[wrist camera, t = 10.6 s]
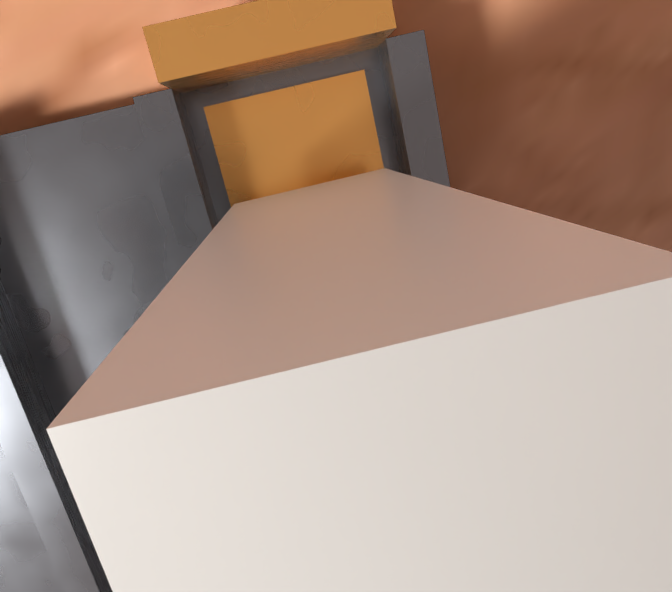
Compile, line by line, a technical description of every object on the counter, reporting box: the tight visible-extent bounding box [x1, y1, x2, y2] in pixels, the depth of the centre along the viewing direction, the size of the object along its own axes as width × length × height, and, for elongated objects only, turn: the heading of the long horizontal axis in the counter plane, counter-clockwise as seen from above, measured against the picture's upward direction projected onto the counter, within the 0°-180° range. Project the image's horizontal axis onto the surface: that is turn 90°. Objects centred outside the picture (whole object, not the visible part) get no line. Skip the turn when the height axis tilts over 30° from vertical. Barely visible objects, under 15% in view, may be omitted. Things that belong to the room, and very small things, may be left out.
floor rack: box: [0, 0, 450, 592], centre depth 18 cm, size 23×21×4 cm
